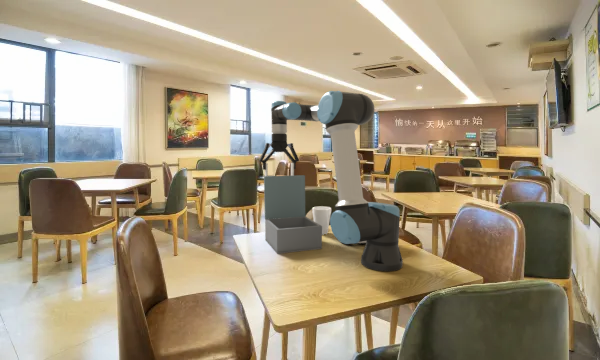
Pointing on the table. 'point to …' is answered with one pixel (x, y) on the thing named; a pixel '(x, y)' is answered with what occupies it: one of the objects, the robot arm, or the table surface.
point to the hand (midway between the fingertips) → (279, 176)
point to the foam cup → (322, 217)
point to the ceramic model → (310, 215)
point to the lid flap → (284, 196)
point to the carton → (293, 234)
